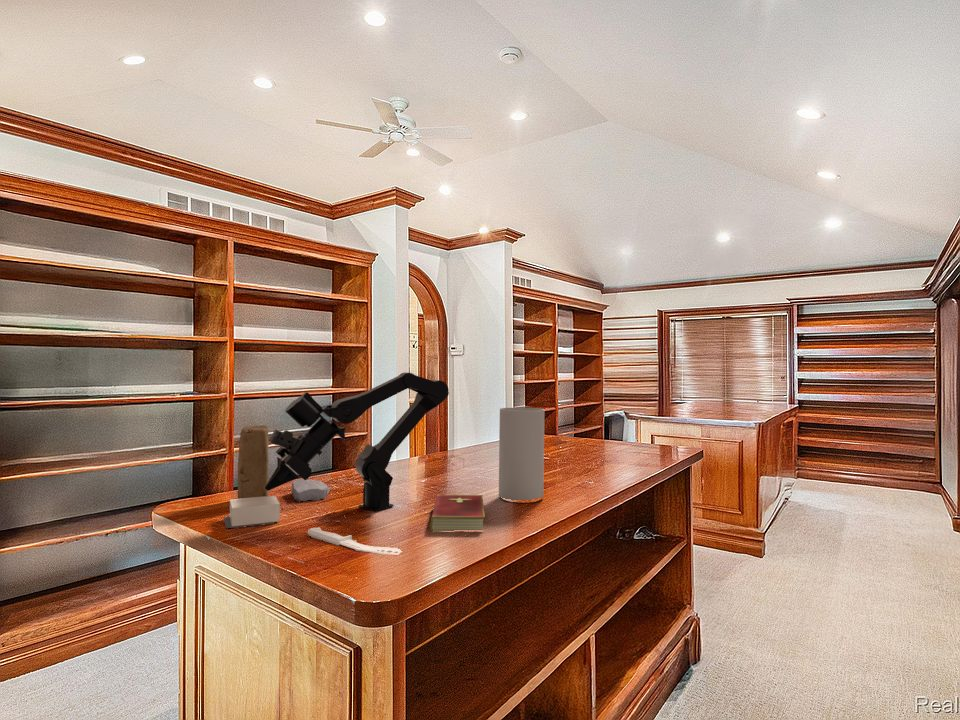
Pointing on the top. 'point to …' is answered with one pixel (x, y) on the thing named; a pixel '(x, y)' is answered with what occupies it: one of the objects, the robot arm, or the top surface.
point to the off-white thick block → (254, 510)
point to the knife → (349, 542)
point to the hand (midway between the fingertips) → (266, 489)
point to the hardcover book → (457, 513)
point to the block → (253, 462)
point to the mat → (228, 525)
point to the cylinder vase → (521, 453)
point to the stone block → (309, 490)
